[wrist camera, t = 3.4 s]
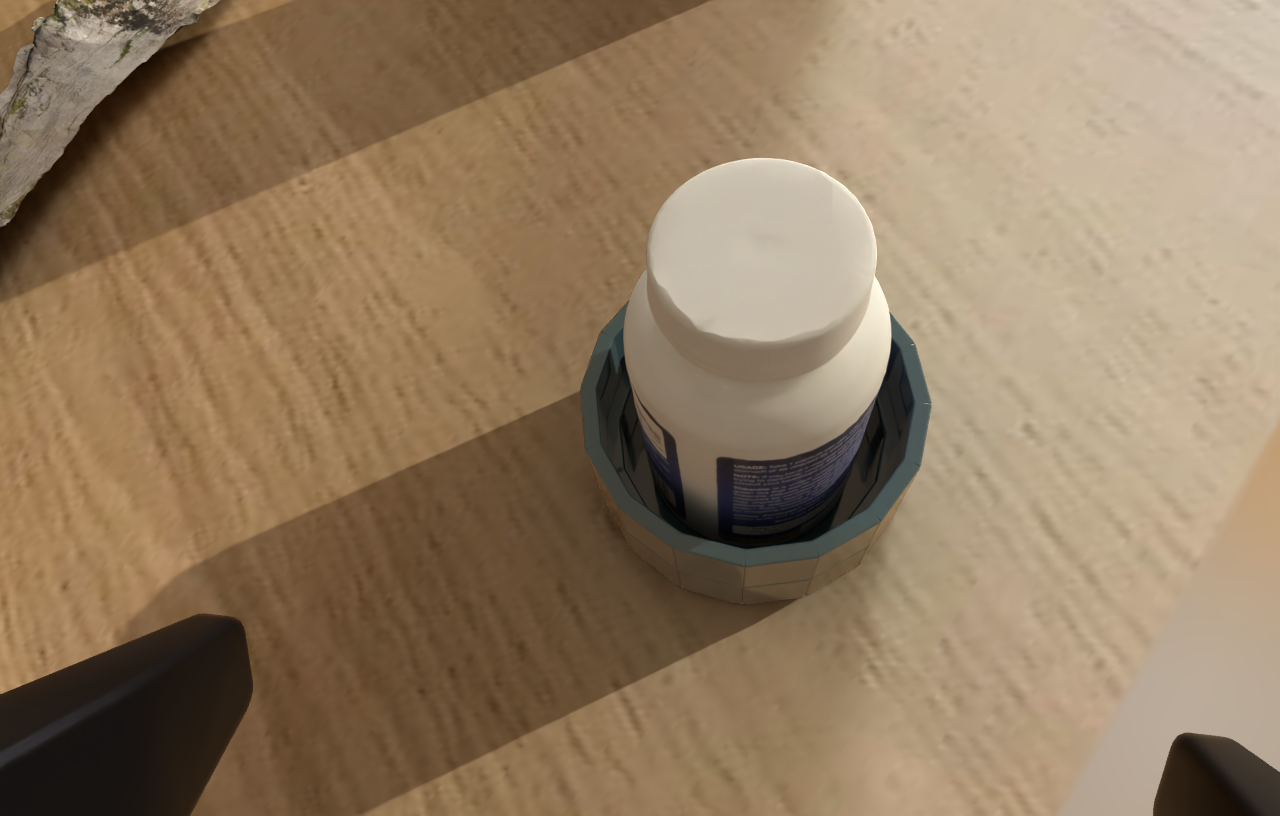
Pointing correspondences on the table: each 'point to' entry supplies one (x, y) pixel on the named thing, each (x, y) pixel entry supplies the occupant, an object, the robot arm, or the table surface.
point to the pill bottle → (756, 348)
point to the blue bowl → (762, 570)
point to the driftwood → (74, 78)
